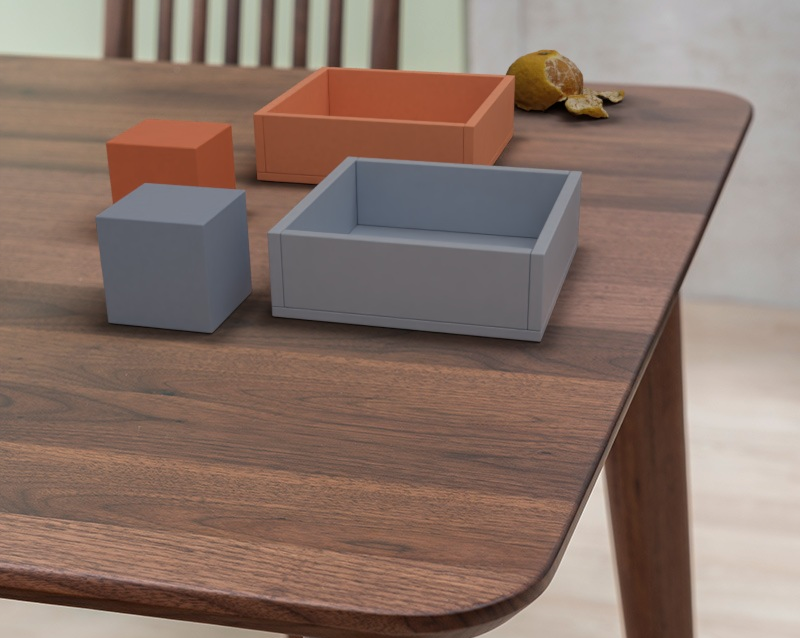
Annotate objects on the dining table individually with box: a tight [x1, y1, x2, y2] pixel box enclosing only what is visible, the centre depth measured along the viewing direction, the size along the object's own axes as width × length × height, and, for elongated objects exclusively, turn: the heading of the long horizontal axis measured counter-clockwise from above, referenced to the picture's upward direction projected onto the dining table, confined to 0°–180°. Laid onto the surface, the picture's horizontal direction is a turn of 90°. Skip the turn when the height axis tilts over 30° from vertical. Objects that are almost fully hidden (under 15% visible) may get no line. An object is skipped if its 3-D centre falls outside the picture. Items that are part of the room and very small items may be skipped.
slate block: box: [94, 183, 253, 334], centre depth 57 cm, size 5×5×5 cm
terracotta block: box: [105, 118, 237, 205], centre depth 67 cm, size 5×5×5 cm
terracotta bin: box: [252, 66, 515, 185], centre depth 79 cm, size 13×13×4 cm
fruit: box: [505, 49, 626, 119], centre depth 90 cm, size 8×8×4 cm
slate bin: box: [266, 157, 583, 343], centre depth 60 cm, size 12×12×4 cm
